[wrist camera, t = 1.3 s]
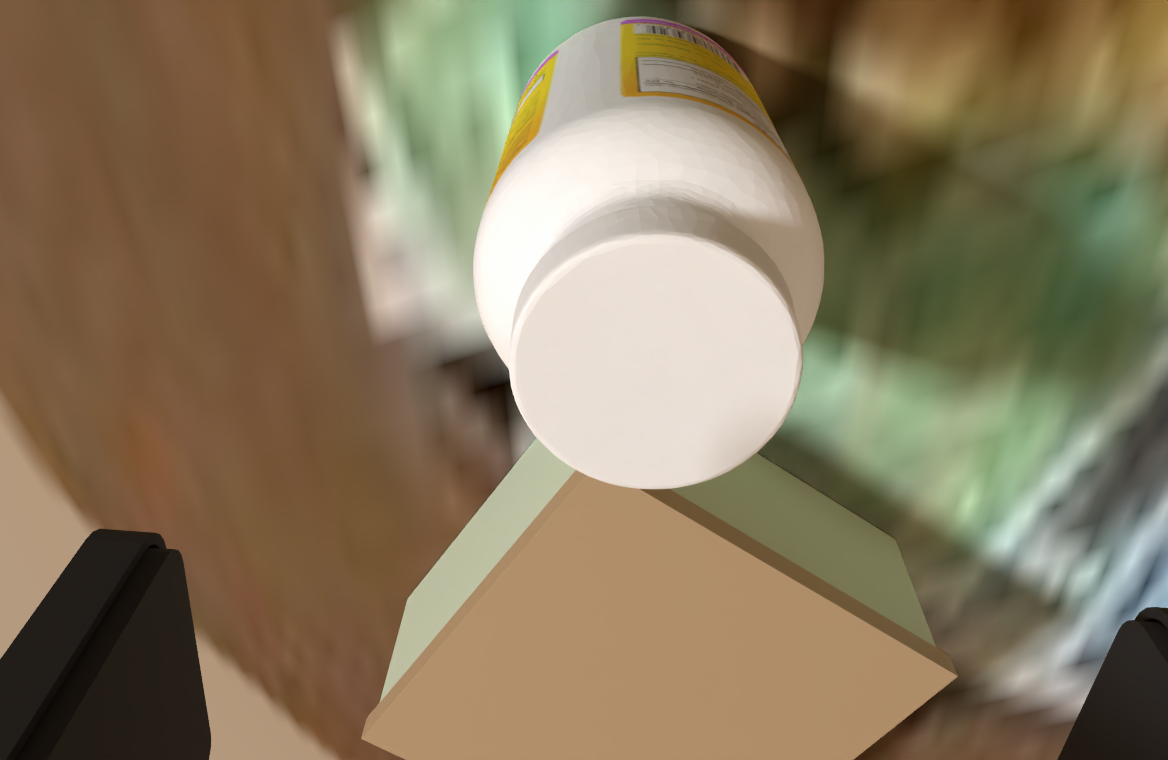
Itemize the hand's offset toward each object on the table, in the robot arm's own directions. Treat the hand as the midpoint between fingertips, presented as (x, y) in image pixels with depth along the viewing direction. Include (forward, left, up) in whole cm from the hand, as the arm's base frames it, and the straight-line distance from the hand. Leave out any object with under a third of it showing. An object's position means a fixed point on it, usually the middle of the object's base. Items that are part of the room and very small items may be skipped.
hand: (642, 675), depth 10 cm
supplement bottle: (0, 0, -19) cm, 19 cm away
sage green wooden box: (-9, +12, -19) cm, 24 cm away
